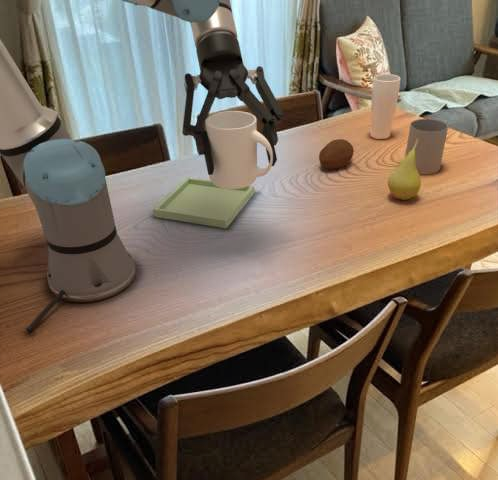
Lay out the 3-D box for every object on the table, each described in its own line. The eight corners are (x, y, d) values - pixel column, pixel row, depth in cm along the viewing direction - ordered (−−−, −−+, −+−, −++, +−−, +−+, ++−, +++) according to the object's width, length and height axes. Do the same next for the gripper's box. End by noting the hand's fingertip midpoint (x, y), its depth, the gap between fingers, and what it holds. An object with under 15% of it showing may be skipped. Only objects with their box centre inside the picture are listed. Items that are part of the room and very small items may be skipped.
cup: (413, 157, 134) (420, 116, 127) (445, 165, 130) (454, 123, 123) (397, 168, 129) (403, 127, 123) (430, 177, 125) (438, 134, 118)
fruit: (381, 200, 117) (389, 146, 109) (393, 187, 122) (401, 134, 114) (412, 207, 114) (421, 152, 106) (422, 193, 119) (432, 139, 111)
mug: (261, 198, 91) (261, 135, 84) (200, 185, 95) (195, 124, 88) (282, 177, 97) (283, 117, 90) (224, 166, 101) (220, 107, 94)
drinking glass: (396, 134, 146) (404, 75, 136) (387, 142, 142) (395, 82, 132) (372, 130, 149) (379, 72, 139) (363, 138, 144) (369, 79, 135)
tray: (226, 228, 110) (225, 220, 108) (154, 216, 114) (153, 209, 113) (254, 193, 121) (254, 185, 120) (188, 184, 126) (187, 176, 125)
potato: (311, 168, 131) (312, 142, 127) (337, 156, 136) (339, 131, 132) (332, 175, 127) (333, 150, 123) (358, 163, 132) (360, 138, 128)
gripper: (275, 51, 99) (300, 167, 97) (151, 63, 94) (175, 184, 93) (284, 24, 91) (312, 149, 90) (150, 36, 87) (177, 167, 85)
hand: (242, 167), depth 91 cm, fingers closed on mug, 10 cm apart
